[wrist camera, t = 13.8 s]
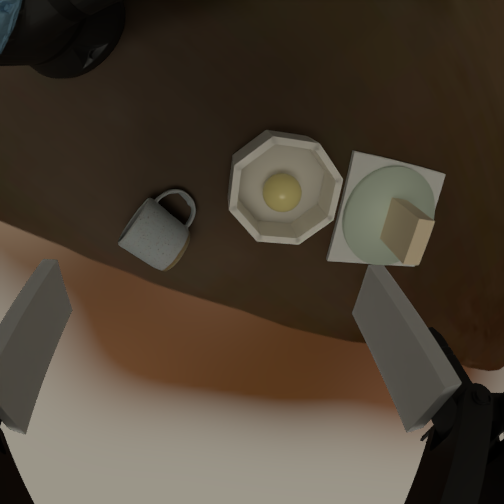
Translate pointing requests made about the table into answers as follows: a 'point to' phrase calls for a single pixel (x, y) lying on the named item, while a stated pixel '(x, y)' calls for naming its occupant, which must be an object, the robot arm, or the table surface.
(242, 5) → the table surface
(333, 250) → the mat
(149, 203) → the ceramic mug
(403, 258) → the lid
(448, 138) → the table surface
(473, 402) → the robot arm
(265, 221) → the bowl
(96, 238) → the table surface
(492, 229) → the table surface
